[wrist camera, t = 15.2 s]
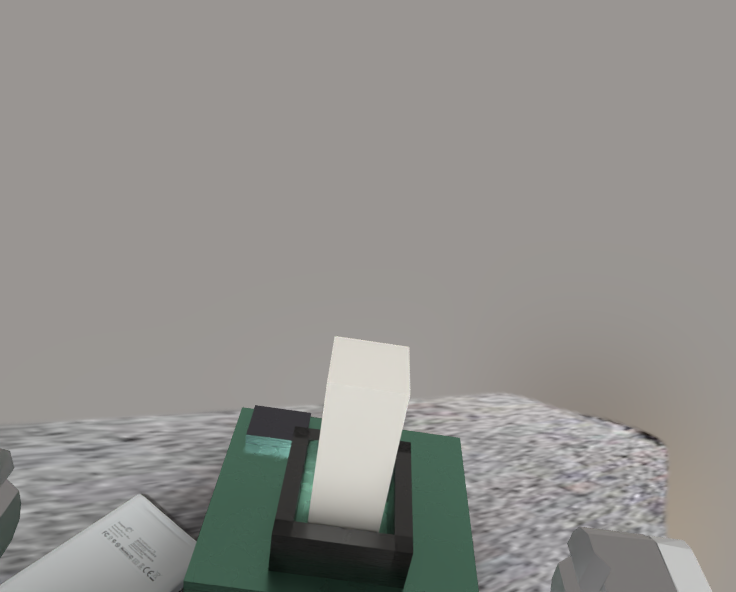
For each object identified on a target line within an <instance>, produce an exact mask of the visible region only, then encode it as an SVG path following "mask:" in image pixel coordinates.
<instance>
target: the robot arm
mask: <svg viewBox="0 0 736 592" xmlns="http://www.w3.org/2000/svg"><path fill="white" fill-rule="evenodd" d="M13 469H14V465H13V461H12V457H11V453H10V451H8V450H5V449H1V448H0V558H1V556H2V555H3V553H4V552H5V550H6V548H7V547H8V545H9V544H10V542H11V540H12V538H13V535H14V533H15V530H16V527H17V524H18V522H19V519H20V509H21V500H20V495H19V490H18V489H17V488H16V487H15V486H14V485H13V484H12V483H11V482H10V481H8V480H7V478H8V476H9V475H10V473H11V472H12V471H13ZM567 544H568V547H569V551H570V555H571V556H570V557H568V558H566V559H565V560H563V561H561V562H559V563H558V565H557V567H556V570H555V572H554V575H553V577H552V583H551V592H712V590H711V588H710V585H709V584H708V581H707V579H706V577H705V575H704V573H703V571H702V569H701V567H700V565H699V563H698V562H697V559H696V557H695V555H694V553H693V551H692V549H691V548H690V546H689V545H688V544H687V543H686V542H685V541H684V540H678V539H670V538H663V537H655V536H645V535H643V534H635V533H627V532H619V531H611V530H603V529H595V528H587V527H578V528H577V529H576V530H575V531H573V533H572V535H571V537H570V539H569V541H568V543H567Z"/></svg>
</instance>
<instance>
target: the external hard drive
mask: <svg viewBox="0 0 736 592" xmlns="http://www.w3.org/2000/svg"><path fill="white" fill-rule="evenodd" d="M196 542H197V541H195V540H194V539H193V538H192V537H190V536H189V535H188V534H187V533H186V532H185V531H184V530H182V529H181V528H180V527H179V526H178V525H177V524H175V523H174V522H173V521H172V520H171V519H170V518H169V517H167V516H166V515H165V514H164V513H163V512H161V511H160V510H159V509H158V508H157V507H156V506H155V505H153V504H152V503H151V502H150V501H149V500H148V499H146V498H145V497H144V496H143V495H141V494H138V495H136V496H135V497H133V498H132V499H130V500H129V501H127V502H126V503H124V504H123V505H121V506H120V507H118V508H117V509H115V510H113V511H112V512H110V513H109V514H107V515H106V516H104V517H103V518H101V519H100V520H98V521H97V522H95V523H93V524H92V525H90V526H89V527H87V528H86V529H84V530H83V531H81V532H80V533H78V534H77V535H75V536H74V537H72V538H71V539H69V540H68V541H66V542H65V543H63V544H62V545H60V546H59V547H57V548H56V549H54V550H52V551H51V552H49V553H48V554H46V555H45V556H43V557H42V558H40V559H39V560H37V561H36V562H34V563H33V564H31V565H30V566H28V567H26V568H25V569H23V570H22V571H20V572H19V573H17V574H16V575H14V576H13V577H11V578H10V579H8V580H7V581H5V582H4V583H2V584H1V585H0V592H179V591H180V590H181V589H182V588H183V581H184V578H185V575H186V572H187V569H188V566H189V563H190V560H191V557H192V554H193V551H194V548H195V545H196Z"/></svg>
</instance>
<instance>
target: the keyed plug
mask: <svg viewBox="0 0 736 592" xmlns="http://www.w3.org/2000/svg"><path fill="white" fill-rule="evenodd" d="M409 398H410V361H409V347H405V346H398V345H391V344H385V343H378V342H372V341H364V340H358V339H351V338H344V337H337V336H335V338H334V344H333V350H332V357H331V363H330V369H329V375H328V381H327V388H326V395H325V402H324V409H323V416H322V423H321V430H320V438H319V445H318V452H317V459H316V466H315V473H314V480H313V488H312V495H311V502H310V509H309V516H308V523H311V524H319V525H326V526H333V527H341V528H348V529H356V530H363V531H370V532H378V533H379V530H380V525H381V521H382V516H383V512H384V508H385V503H386V499H387V495H388V490H389V486H390V481H391V477H392V473H393V468H394V464H395V459H396V455H397V451H398V446H399V442H400V438H401V433H402V429H403V424H404V420H405V416H406V411H407V407H408V402H409Z"/></svg>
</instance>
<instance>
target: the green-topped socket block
mask: <svg viewBox="0 0 736 592" xmlns="http://www.w3.org/2000/svg"><path fill="white" fill-rule="evenodd" d="M321 423H322V418H314V417H311V413H306V412H299V411H292V410H285V409H278V408H271V407H264V406H257V405H255V408H254V409H251V408H242V410H241V413H240V416H239V419H238V422H237V425H236V428H235V431H234V433H233V436H232V439H231V442H230V445H229V448H228V451H227V454H226V457H225V460H224V463H223V466H222V469H221V472H220V475H219V478H218V481H217V483H216V486H215V489H214V492H213V495H212V498H211V501H210V504H209V507H208V510H207V513H206V516H205V519H204V522H203V525H202V528H201V531H200V534H199V536H198V539H197V542H196V545H195V548H194V551H193V554H192V557H191V560H190V563H189V566H188V569H187V572H186V575H185V578H184V581H183V592H479V590H478V582H477V574H476V566H475V557H474V549H473V541H472V533H471V525H470V517H469V508H468V500H467V492H466V484H465V476H464V468H463V460H462V451H461V443H460V438H456V437H449V436H442V435H435V434H428V433H421V432H414V431H407V430H402V433H401V438H400V442H399V446H398V451H397V455H396V459H395V464H394V468H393V473H392V477H391V481H390V486H389V490H388V495H387V499H386V503H385V508H384V512H383V516H382V521H381V525H380V530H379V533H378V532H370V531H363V530H356V529H348V528H341V527H333V526H326V525H319V524H311V523H308V516H309V509H310V502H311V495H312V488H313V480H314V473H315V466H316V459H317V452H318V445H319V438H320V430H321Z"/></svg>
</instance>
